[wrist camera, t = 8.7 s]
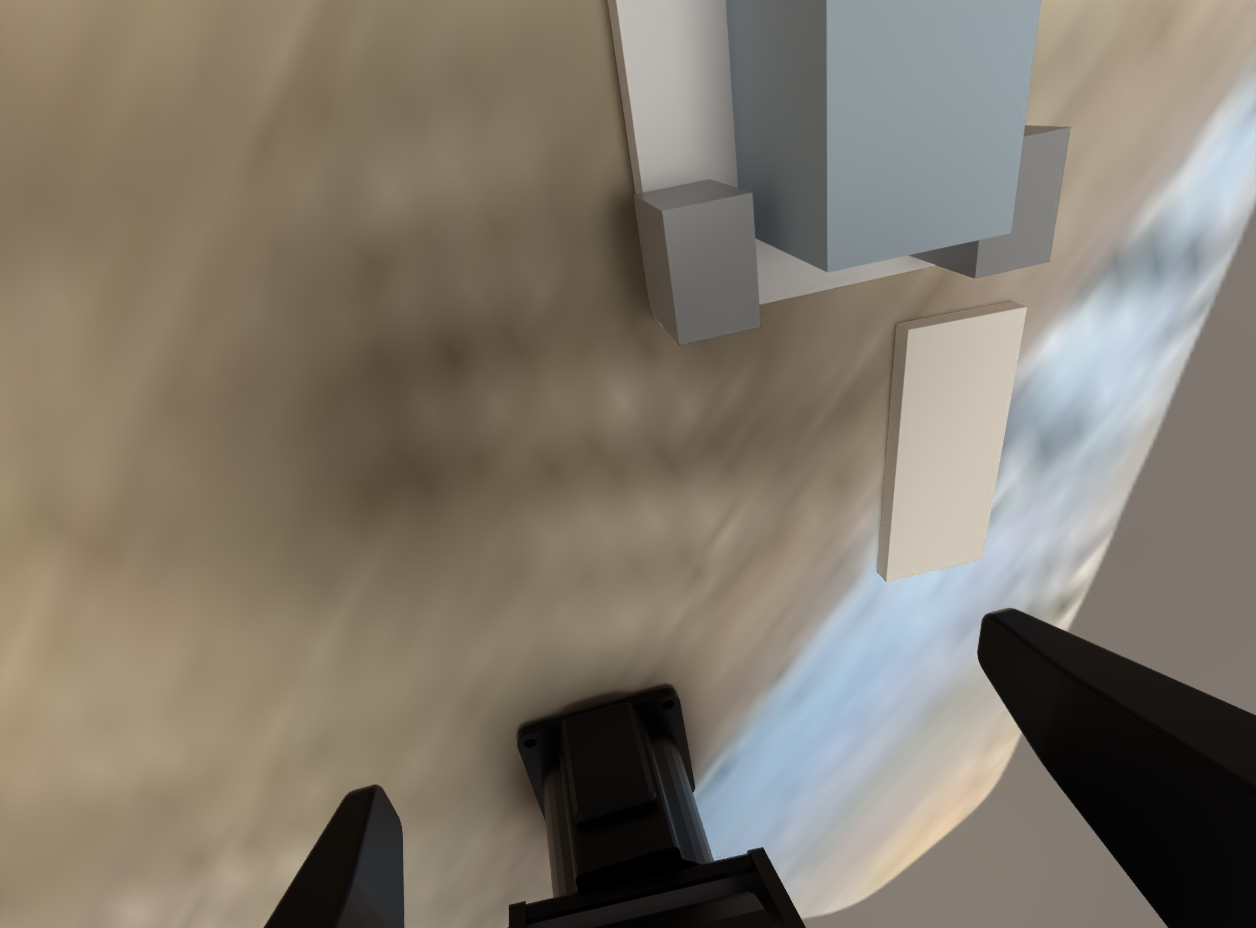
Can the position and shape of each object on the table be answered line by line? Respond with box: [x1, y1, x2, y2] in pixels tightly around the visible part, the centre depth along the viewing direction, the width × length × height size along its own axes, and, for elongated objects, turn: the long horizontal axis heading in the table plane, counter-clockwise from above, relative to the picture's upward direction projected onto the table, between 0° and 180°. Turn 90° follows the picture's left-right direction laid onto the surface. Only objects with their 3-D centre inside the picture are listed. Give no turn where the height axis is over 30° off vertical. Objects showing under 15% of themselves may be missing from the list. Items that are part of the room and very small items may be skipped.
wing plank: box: [877, 301, 1027, 582], centre depth 24 cm, size 10×4×1 cm, turn 7°
